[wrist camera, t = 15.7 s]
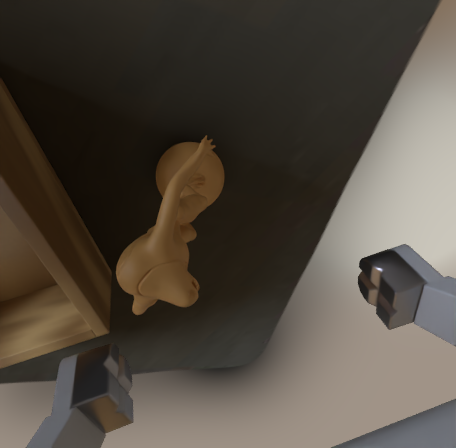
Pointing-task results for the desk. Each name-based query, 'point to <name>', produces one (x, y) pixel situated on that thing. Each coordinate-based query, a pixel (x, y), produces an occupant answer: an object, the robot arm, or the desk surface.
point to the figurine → (172, 228)
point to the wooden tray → (43, 253)
